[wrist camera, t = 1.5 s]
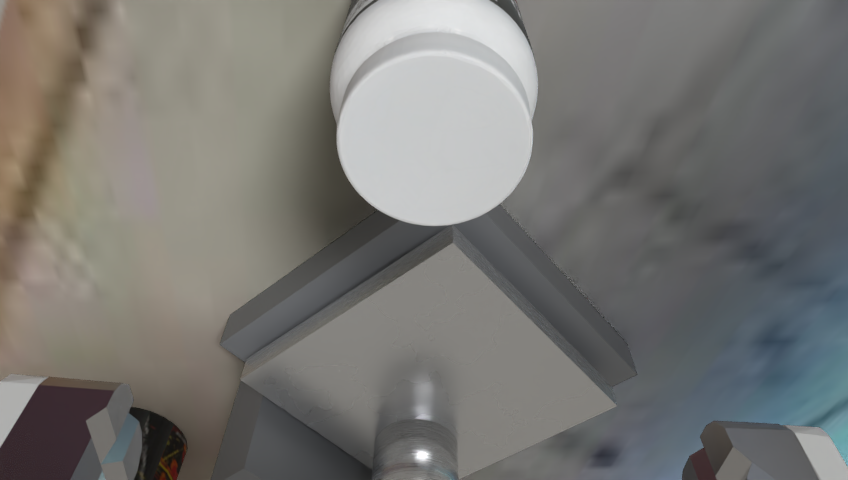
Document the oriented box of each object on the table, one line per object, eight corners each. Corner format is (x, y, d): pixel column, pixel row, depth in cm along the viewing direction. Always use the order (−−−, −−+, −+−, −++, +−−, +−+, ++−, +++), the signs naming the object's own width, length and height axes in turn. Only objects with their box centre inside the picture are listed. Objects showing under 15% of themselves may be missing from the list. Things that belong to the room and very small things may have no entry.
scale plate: (452, 223, 26) (453, 242, 25) (611, 385, 31) (617, 406, 30) (246, 359, 30) (239, 379, 29) (416, 479, 36) (415, 499, 35)
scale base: (454, 155, 27) (460, 263, 21) (627, 344, 33) (666, 465, 28) (189, 343, 34) (140, 463, 28) (375, 470, 40) (365, 589, 34)
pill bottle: (503, 92, 25) (534, 252, 17) (354, 84, 25) (317, 241, 17) (525, -70, 22) (575, 37, 14) (352, -80, 22) (305, 22, 14)
